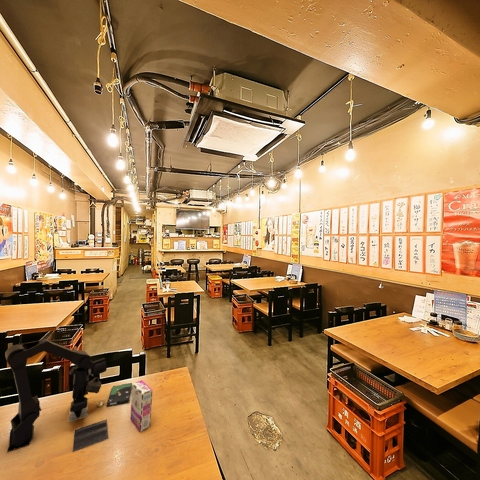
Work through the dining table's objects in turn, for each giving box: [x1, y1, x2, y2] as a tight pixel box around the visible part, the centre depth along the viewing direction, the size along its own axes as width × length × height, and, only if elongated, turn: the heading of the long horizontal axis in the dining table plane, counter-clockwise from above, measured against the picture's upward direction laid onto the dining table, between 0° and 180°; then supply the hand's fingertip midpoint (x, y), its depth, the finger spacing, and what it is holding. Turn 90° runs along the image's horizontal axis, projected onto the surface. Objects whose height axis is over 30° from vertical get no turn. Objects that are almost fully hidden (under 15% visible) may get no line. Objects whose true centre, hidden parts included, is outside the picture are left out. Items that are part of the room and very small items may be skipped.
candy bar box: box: [130, 379, 153, 433], centre depth 105 cm, size 11×5×16 cm, turn 47°
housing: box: [68, 403, 89, 423], centre depth 107 cm, size 7×5×4 cm
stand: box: [72, 419, 109, 453], centre depth 97 cm, size 12×11×2 cm
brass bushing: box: [96, 400, 106, 408], centre depth 115 cm, size 3×3×2 cm
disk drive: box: [106, 382, 133, 408], centre depth 122 cm, size 10×3×15 cm
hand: (78, 413), depth 107 cm, fingers closed on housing, 5 cm apart
